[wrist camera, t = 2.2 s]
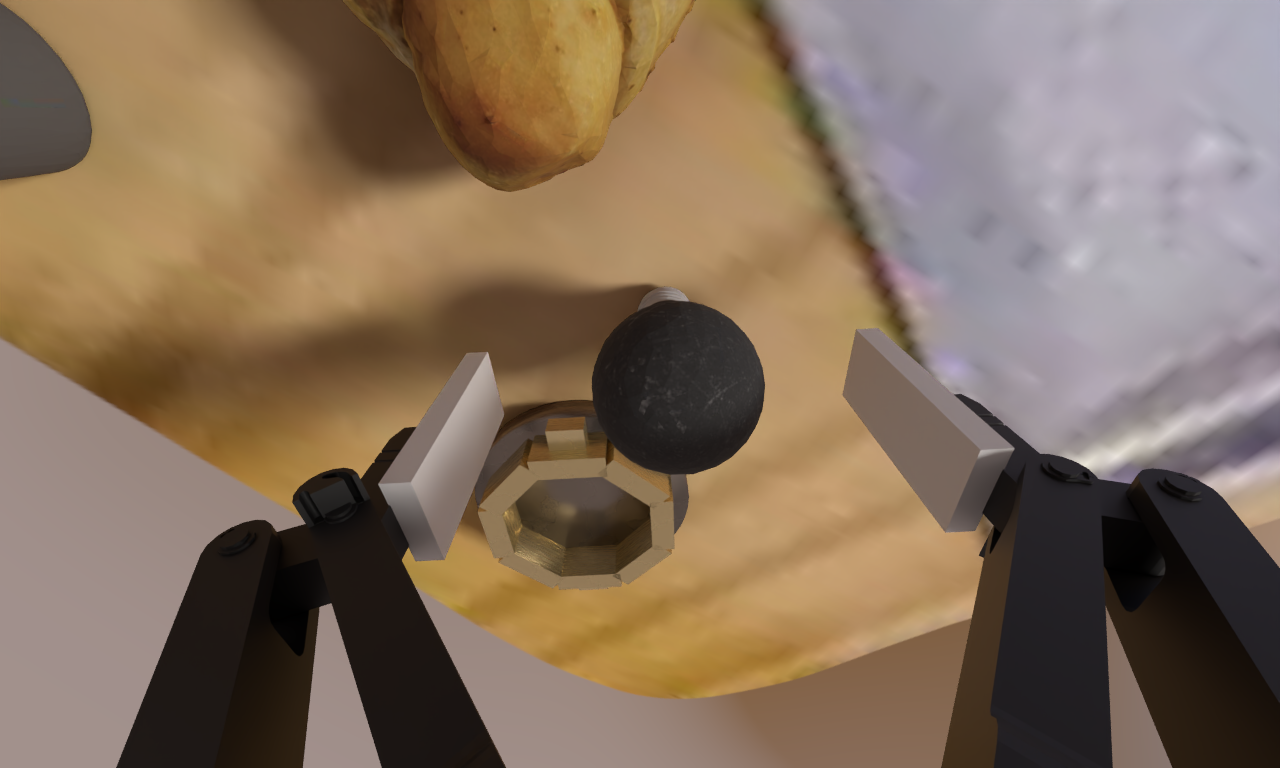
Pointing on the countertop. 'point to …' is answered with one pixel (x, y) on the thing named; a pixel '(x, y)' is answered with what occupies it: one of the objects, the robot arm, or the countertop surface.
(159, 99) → the countertop surface
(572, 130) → the bread roll
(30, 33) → the bottle
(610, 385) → the light bulb
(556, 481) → the octagonal rimmed dish
